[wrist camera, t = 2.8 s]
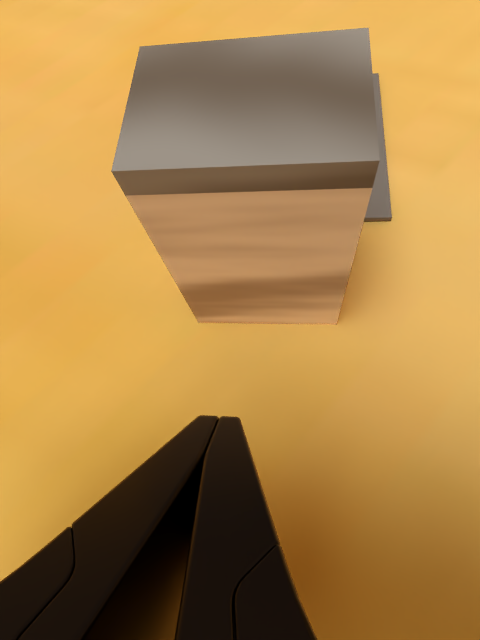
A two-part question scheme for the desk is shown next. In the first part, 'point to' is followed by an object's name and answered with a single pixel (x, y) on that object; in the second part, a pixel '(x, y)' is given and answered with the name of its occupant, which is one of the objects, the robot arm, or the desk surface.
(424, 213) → the desk surface
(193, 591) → the robot arm
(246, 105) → the cream block
